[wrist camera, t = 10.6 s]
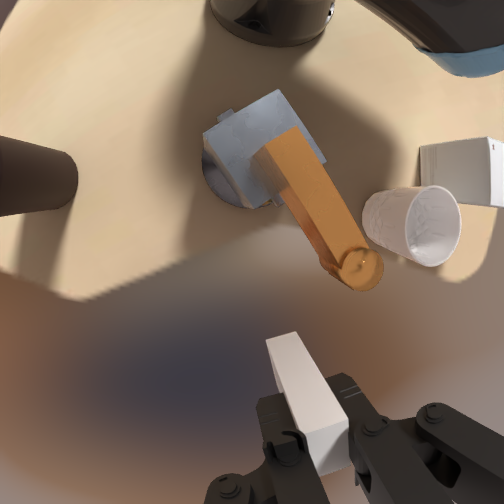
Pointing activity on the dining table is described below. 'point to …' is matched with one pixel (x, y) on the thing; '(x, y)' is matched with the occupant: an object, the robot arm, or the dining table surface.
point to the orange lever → (291, 183)
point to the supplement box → (466, 170)
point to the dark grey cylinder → (221, 182)
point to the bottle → (34, 177)
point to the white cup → (414, 223)
